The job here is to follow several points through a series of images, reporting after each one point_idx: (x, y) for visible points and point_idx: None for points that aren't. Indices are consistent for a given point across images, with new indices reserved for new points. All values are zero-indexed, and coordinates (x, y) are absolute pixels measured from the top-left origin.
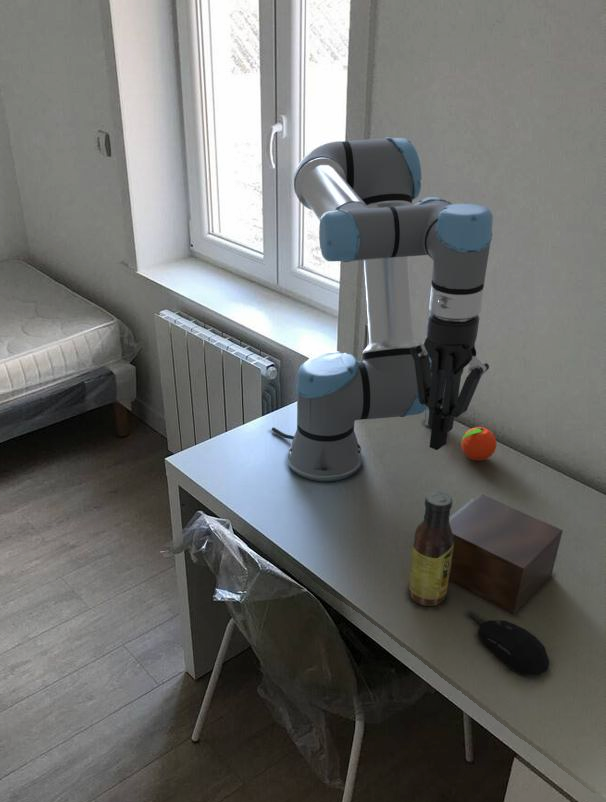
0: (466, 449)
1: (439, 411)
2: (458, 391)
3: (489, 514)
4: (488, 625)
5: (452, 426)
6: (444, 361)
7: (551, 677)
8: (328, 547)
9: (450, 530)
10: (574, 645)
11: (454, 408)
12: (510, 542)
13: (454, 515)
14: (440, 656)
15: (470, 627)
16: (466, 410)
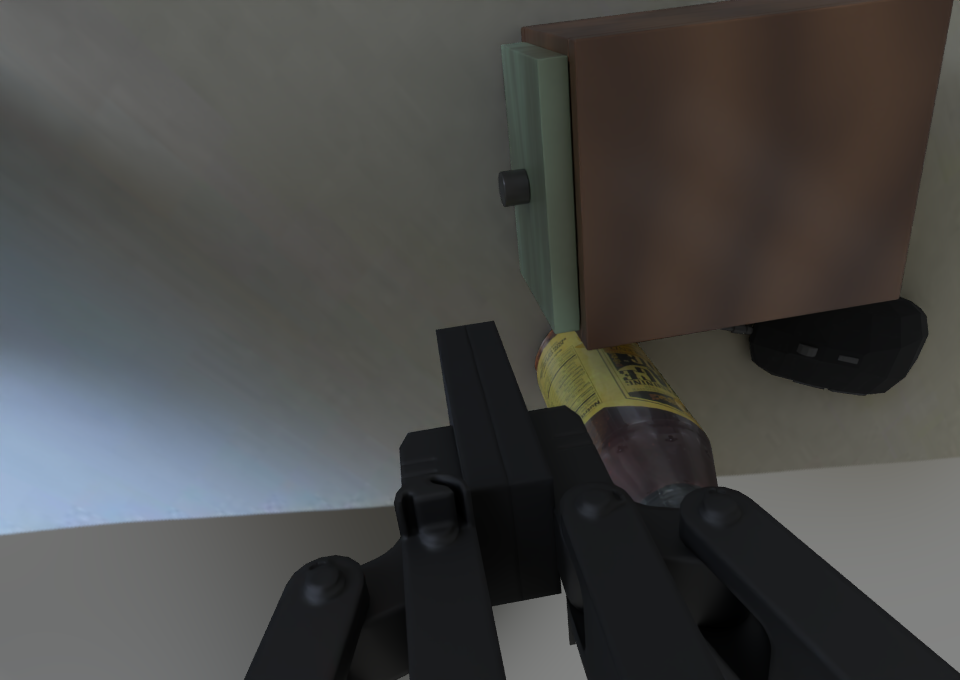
0: None
1: (497, 554)
2: (717, 677)
3: (676, 145)
4: (782, 357)
5: (584, 429)
6: None
7: (928, 325)
8: (254, 432)
9: (716, 481)
10: (947, 203)
11: (716, 662)
12: (814, 224)
13: (557, 229)
14: (715, 459)
15: (722, 351)
16: (745, 496)
